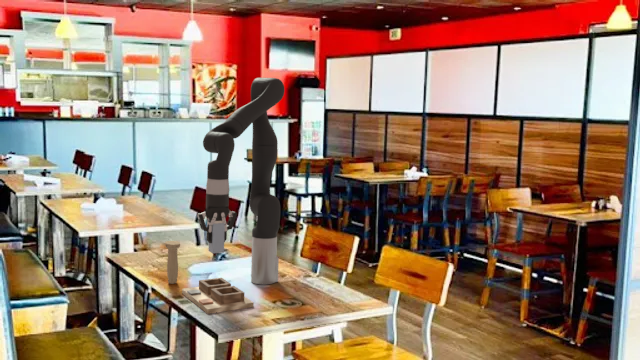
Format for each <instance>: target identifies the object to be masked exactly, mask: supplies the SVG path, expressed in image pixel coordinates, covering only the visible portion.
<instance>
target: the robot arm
mask: <svg viewBox="0 0 640 360" xmlns="http://www.w3.org/2000/svg"><path fill="white" fill-rule="evenodd" d="M285 92H286V91H285V85H284V82H283V81H282V80H281V79H279V78H275V77H256V78H254V79H253V81H252V82H251V86H250V102H248V103H247V104H245V105H242V106H241V107H239V108H237V109H236V110H234V112H232V113H231V114H230V115H229V116H228V118H226V119H225V121H224V122H222V123H220V124H218V125H216V126H215V127H213V128H212V129H210V130H209V131H207V133H206V134H205V135H204V137H203V141H202V146H203V148H204V150H205V151H206V152H208V153H210V154H211V153H212V154H217V156H216V159H213V160H210V161H208V163H207V174H206V176H207V177H206V185H205V187H206V189H205V190H206V193H205V194H206V195H205V209H204V211H203V212H201V213H200V212H198V213H196V217H197V220H198V223H199V227H200V229H201V230H202V231H204V232H206V241H207V242H208V244H209V243H212V226H213V224H215V221H222V222H223V223H225V230H224V243H225V242H226V240H227V239H228V231H229V230H232V229H233V228H234V227H233V226H234V224H235V221H236V219H237V215H238V212H236V211H233V210H232V211H231V210H230V209H229V205H230V204H229V203H230V202H229V201H230V182H229V179H230V177H229V174H230V173H229V170H230V168H229V167H230V164H231V161H232V158H233V153H234V150H235V144H236V143H235V140H234V139H237V138H239V137H240V136H241V135H242V134H243V133H244V132H245V131H246V130H247V129H248V128H249V127H250V125H252V142H251V143H252V145H251V155H252V156H251V157H252V158H251V159H252V162H251V187H250V194H249V195H250V196H249V209H250V211H251V213H252V214H253V215H254V216H256V225H255V226H254V227H253V228H252V230H251V266H250V267H251V270H250V271H251V273H250V274H251V275H250V281H251V283H253V284H256V285H272V284H275V283H277V282H279V260H280V259H279V256H277V255H278V253H277V251H278V250H277V249H278V245H277V244H278V232H279V229H280V223H281V222H280V221H281V203H280V200H279V198H278V197H276V196H275V195H273V194H271V177H272V173H273V171H274V168H275V167H276V163H277V160H278V137H277V135H276V133H275V129H273V126H272V125H271V122H270V120H269V116H268V111H269V110H270V109H272V108H273V107H274V106H276V105H277V104H278V103H279V102H280V101H282V100H283V98H284V95H285ZM227 217H228V220H227V221H226V218H227ZM206 218H207V222H206V221H205V219H206Z"/></svg>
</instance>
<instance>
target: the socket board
mask: <svg viewBox="0 0 640 360" xmlns="http://www.w3.org/2000/svg"><path fill="white" fill-rule="evenodd" d="M181 294H182V295H183V296H185V297H186V298H187V299H189V300H190V301H191V302H193V304H195V305H196V306H197V307H199V309H201V310H202V311H203V312H205V313H206V314H207V315H209V314H216V312H217V313H221V312H228V311H235V310H242V309H247V308H254V303H255V302H253V301H252V300H251V299H249V298H248V297H246V296H245V292H244V291H243V290H241V289H240V288H238V287H237V286H235V285H232V283H231V282H230V281H228V280H226V279H224V278H223V277H216V278H215V277H214V278H206V279H199V280H198V286H194V287H186V288H185V287H184V288H182V289H181Z"/></svg>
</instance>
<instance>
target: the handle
mask: <svg viewBox="0 0 640 360" xmlns="http://www.w3.org/2000/svg"><path fill="white" fill-rule="evenodd" d="M164 244H165V248H166V249H167V264H166V269H167V270H166V274H167V283H168V284H170V285H171V284H172V285H174V284H177V282H178V276H179V260H178V259H179V258H178V249H179V248H181V242H180V241H177V240H166V241H165V243H164Z"/></svg>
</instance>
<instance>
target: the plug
mask: <svg viewBox="0 0 640 360" xmlns="http://www.w3.org/2000/svg"><path fill="white" fill-rule="evenodd" d="M224 230H225V223H223V222H222V221H215V224H213V226H212V243H208V252H210V253H211V254H221V253H222V254H223V253H225V242H224Z"/></svg>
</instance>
